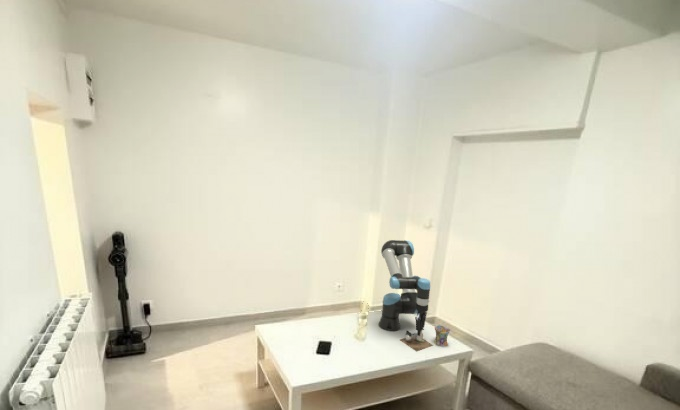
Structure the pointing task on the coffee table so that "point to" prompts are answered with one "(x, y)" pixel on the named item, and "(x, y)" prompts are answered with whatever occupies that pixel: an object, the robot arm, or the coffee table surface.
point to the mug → (441, 336)
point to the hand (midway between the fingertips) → (419, 339)
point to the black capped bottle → (411, 337)
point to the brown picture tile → (417, 344)
